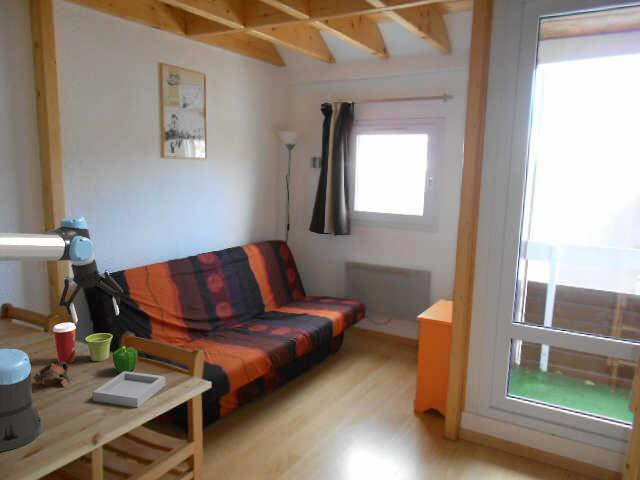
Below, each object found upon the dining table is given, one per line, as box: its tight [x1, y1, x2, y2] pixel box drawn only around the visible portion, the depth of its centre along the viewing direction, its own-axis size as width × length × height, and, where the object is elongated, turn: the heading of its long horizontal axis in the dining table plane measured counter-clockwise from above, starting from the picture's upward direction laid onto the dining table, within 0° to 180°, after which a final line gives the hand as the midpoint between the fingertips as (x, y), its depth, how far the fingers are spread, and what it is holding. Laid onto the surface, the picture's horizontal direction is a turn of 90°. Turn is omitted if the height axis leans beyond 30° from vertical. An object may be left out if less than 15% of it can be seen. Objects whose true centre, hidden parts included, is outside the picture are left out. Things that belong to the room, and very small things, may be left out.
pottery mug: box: [33, 362, 70, 388], centre depth 162 cm, size 12×10×8 cm
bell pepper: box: [112, 345, 139, 374], centre depth 172 cm, size 8×8×10 cm
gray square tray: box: [92, 371, 167, 408], centre depth 156 cm, size 16×16×3 cm
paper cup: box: [52, 322, 77, 364], centre depth 180 cm, size 8×8×14 cm
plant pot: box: [85, 332, 113, 362], centre depth 182 cm, size 9×9×9 cm
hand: (97, 317), depth 166 cm, fingers open, 13 cm apart
